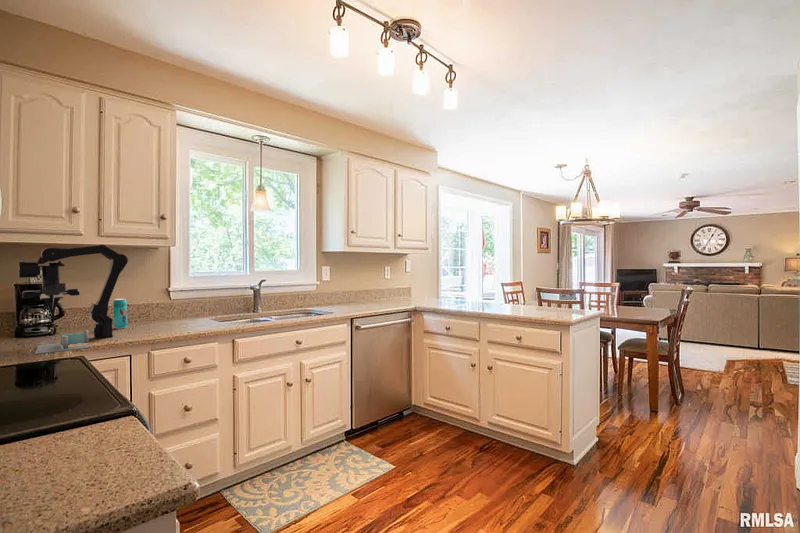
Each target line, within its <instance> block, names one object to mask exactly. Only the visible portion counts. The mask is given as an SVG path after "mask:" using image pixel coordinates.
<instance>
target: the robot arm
mask: <svg viewBox="0 0 800 533" xmlns="http://www.w3.org/2000/svg"><path fill="white" fill-rule="evenodd" d="M95 254H100V255H102V256H103V257H105V258H106V259H107V260H109V261H110V262H109V271H108V274H107V277H106V279H105V281H104V285H103V287H102V289H101V292H100V294H99V297H98V299H97V301H96V302H95V303H91V305H90V308H89V310H88V313H89V318H90V319H91V320H93V321H94V322H95V324H94V325H95V326H94V327H93V338H94V337H95V339H96V338H97V339H102V338H103V339H104V338H105V339H107V338H113V337H114V334H113V322H114V318H111V317H110V316H109V315H108V312H109V302H110V299H111V297H112V294H113V292H114V289H115V287H116V284H117V281H118V278H119V276H120V274H121V273H122V271H123V270H124V269H125V267H126V265H127V264H128V262H129V259H128V257H127V255H125V254H123V253H118V252H116V251H115V250H113V249H111V248H109V247H108V246H107V245H104V244H98V245H92V246H90V245H89V246H81V247H73V248H72V247H70V248H66V247H65V248H61V247H59V248H58V247H57V248H56V247H47V248H44V249H43V250H42V251H41V253H40V257H39V258H38V259H36V261H35V262H34V261H19V262H18V279H32V278H33V279H36V278H37V277H38V276H42V278H41V280H42V284H41V285H42V291H35V290H23V291H22V292H21V295H22V299H26V300H27V299H33V298H35V297H39V298H40V300H42V301H43V300H44V302H45V303H46V305H47V307H48V309H49V311H50V313H51V314H54V313H55V310H56V307H57V304H58V303H59V301H60V300H61V299H64V296H65V295H69V296H71V297H72V296H80V290H79V289H78V288H66V283H65V282H63V283H61V282H60V267H65V264H64V263H63V262H62V261H60V260H63V259H67V258H70V257H78V256H88V255H89V256H90V255H95ZM55 261H57V262H55ZM45 263H48V264H46V265H45ZM50 296H52V297H53V299H52V302H51V298H50Z"/></svg>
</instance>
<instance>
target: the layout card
mask: <svg viewBox="0 0 800 533" xmlns="http://www.w3.org/2000/svg"><path fill="white" fill-rule="evenodd" d="M89 348H90V343H89V344H87V345H82V346H75V347H68V348H63V346H62V345H61V342H57V343H47V344H40V345H37V346H36V349H35V351H34V355H42V354H50V353H56V352H58V353H59V352H67V351H77V350H82V349H84V350H85V349H89Z"/></svg>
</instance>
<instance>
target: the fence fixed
mask: <svg viewBox="0 0 800 533" xmlns="http://www.w3.org/2000/svg"><path fill="white" fill-rule="evenodd" d="M65 336H68V345H70V344H77V343H88V342H90V340H89V330H87V329H86V330H83V332H76V333H65Z"/></svg>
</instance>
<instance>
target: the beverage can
mask: <svg viewBox="0 0 800 533" xmlns="http://www.w3.org/2000/svg"><path fill="white" fill-rule="evenodd" d="M127 305H128V303H127V300H126V298H115V299H114V298H113V302H112V306H113V307H112V309H113V310H112V311H113V327H114V328H115V329H116V330H121V329H122V330H123V329H127V326H128V306H127Z"/></svg>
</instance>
